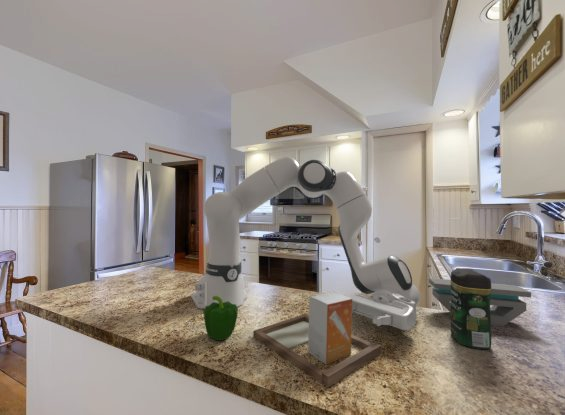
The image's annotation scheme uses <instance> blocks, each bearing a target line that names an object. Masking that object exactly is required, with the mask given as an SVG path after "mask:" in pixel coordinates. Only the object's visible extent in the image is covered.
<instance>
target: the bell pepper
mask: <svg viewBox="0 0 565 415" xmlns="http://www.w3.org/2000/svg"><path fill="white" fill-rule="evenodd" d="M212 298H213V300H218V302H219V303H214V302H213V303H212V304H211V305H209V306H206V308H204V309H203V320H204V326H205V330H206V333H207V335H208V336H209V337H210V338H212V339H213V340H214V341H225V340H227V339H228V338H229V337H230V336H231V335H233V332H234V330H235V327H236V324H237V320H238V311H239V310H238V309H239V308H238V307H237V306H236V304H231V303H230V302H229V301H228V302H224V303H223V302H222V299H221V298H220V297H218V296H214V297H212Z"/></svg>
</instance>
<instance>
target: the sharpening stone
mask: <svg viewBox="0 0 565 415" xmlns="http://www.w3.org/2000/svg"><path fill="white" fill-rule="evenodd" d="M428 284H430V285H431V286H432V289H431V291H432V292H431V294H432V295H433V297H434V298H435V299H436V300H437V301H438V302H439V303H440V304H441V305H442V306H443V307H444V308H445V309H446V310H447V311H448V312H449V313H450V314H451V279H444V278H434V277H433V278H432V277H428ZM491 287H492V288H491V297H490V317H491V326H497V327H505V326H506V325H508V324H509V323H510V322H512V321H513V320H515V319H516V318H518V317H520V315H522V314H524V313H525V312H527V302H525V301H523V300H521V299H520V298H521V297H523V298H532V292H531V291H529V290H527V289H524V288H523V287H520V286H519V285H517V284H513V285H512V284H505V283H503V284H502V283H493V282H491ZM519 297H520V298H519Z"/></svg>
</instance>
